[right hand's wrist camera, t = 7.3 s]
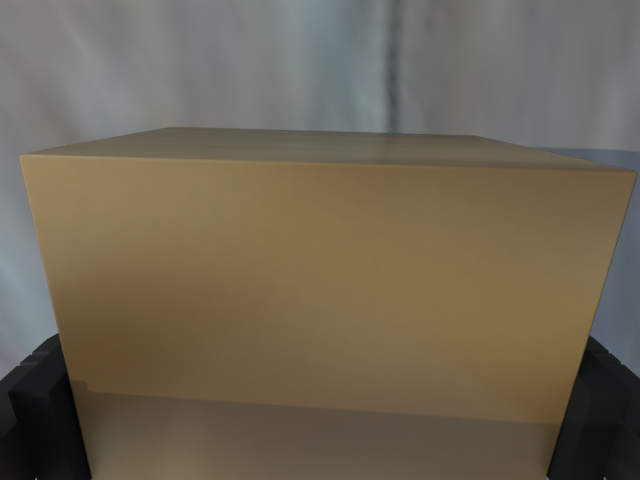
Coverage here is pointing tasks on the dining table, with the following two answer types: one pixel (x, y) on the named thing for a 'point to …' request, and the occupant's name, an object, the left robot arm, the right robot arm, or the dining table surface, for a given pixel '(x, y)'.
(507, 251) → the wooden beam
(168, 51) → the dining table surface
